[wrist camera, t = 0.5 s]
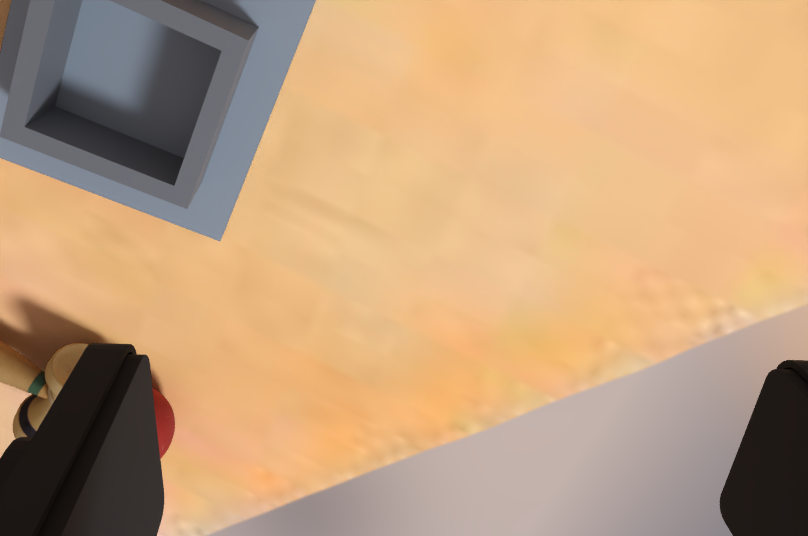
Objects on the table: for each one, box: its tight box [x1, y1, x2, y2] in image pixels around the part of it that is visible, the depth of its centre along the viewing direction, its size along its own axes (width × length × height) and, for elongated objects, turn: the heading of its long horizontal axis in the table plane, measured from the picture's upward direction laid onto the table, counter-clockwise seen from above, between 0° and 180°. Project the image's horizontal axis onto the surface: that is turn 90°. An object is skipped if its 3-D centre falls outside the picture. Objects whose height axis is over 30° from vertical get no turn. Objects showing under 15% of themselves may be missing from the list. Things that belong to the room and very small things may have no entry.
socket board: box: [0, 0, 316, 241], centre depth 36 cm, size 16×14×5 cm
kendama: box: [0, 341, 175, 459], centre depth 45 cm, size 8×6×18 cm
